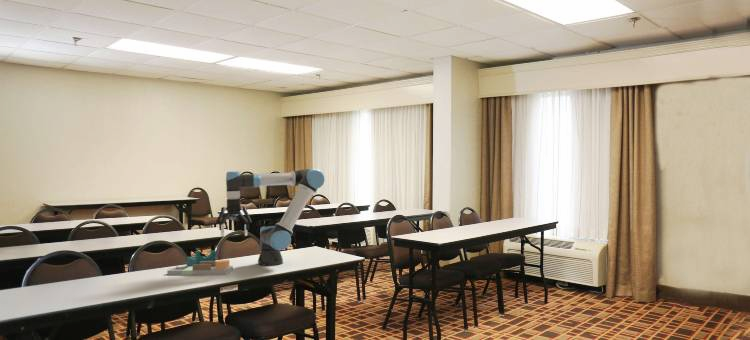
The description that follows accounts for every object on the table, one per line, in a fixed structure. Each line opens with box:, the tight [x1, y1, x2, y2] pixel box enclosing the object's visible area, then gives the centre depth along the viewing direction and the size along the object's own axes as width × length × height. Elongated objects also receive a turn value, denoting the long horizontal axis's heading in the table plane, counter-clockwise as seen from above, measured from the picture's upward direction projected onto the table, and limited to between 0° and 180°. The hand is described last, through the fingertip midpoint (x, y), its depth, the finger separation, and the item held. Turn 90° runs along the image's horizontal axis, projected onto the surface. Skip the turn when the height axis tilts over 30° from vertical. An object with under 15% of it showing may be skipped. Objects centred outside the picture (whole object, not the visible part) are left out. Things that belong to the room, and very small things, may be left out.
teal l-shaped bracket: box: [186, 250, 216, 266], centre depth 320 cm, size 18×11×10 cm, turn 37°
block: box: [215, 259, 230, 269], centre depth 301 cm, size 6×6×4 cm
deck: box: [166, 260, 234, 276], centre depth 301 cm, size 34×12×6 cm, turn 87°
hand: (234, 235), depth 301 cm, fingers open, 13 cm apart
